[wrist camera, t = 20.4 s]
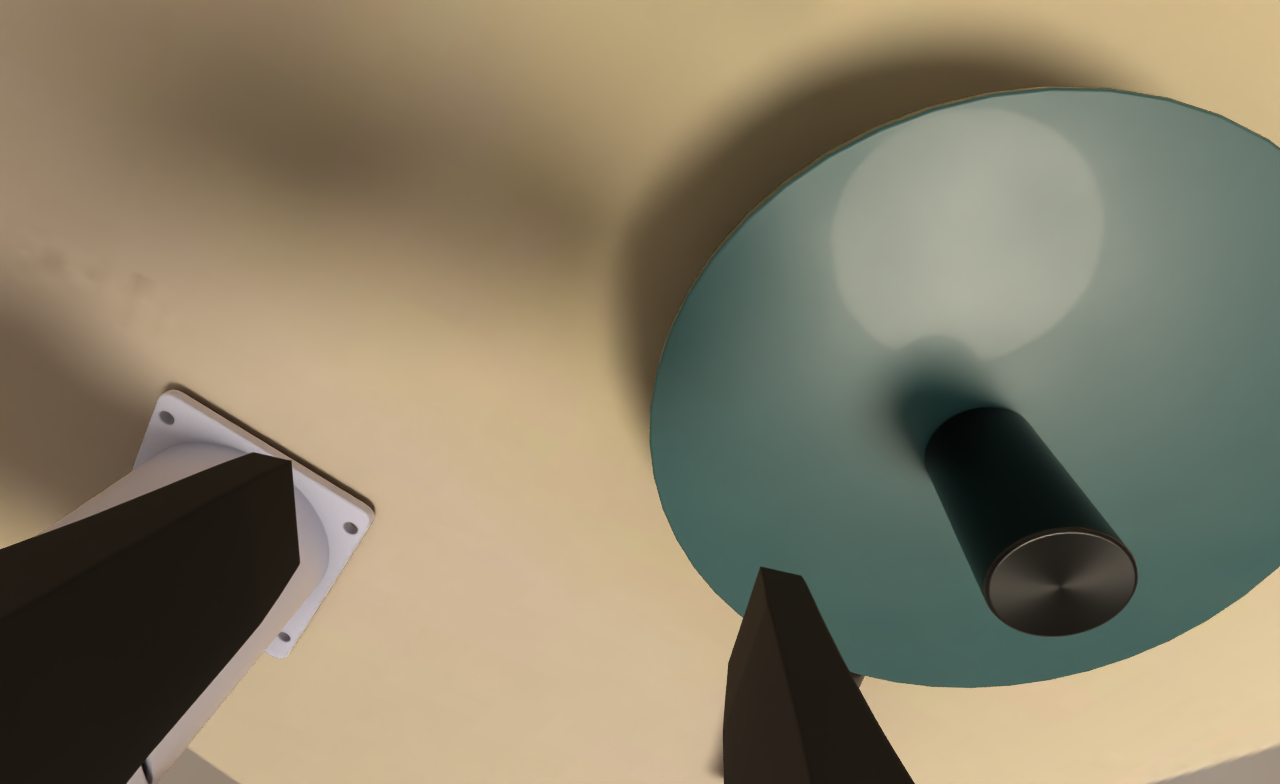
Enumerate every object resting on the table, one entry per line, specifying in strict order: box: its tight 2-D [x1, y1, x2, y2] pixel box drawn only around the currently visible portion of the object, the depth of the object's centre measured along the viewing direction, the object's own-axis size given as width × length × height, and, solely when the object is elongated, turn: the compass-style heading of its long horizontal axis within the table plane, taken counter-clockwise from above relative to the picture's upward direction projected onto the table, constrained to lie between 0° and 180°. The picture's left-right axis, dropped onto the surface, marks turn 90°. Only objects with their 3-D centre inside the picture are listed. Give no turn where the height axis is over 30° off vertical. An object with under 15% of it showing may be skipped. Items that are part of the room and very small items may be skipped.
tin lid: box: [650, 86, 1280, 688], centre depth 14 cm, size 15×15×6 cm
